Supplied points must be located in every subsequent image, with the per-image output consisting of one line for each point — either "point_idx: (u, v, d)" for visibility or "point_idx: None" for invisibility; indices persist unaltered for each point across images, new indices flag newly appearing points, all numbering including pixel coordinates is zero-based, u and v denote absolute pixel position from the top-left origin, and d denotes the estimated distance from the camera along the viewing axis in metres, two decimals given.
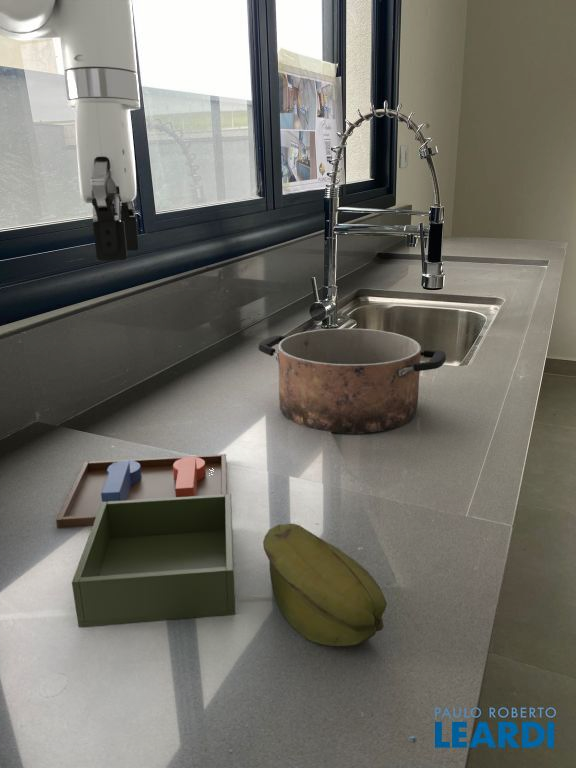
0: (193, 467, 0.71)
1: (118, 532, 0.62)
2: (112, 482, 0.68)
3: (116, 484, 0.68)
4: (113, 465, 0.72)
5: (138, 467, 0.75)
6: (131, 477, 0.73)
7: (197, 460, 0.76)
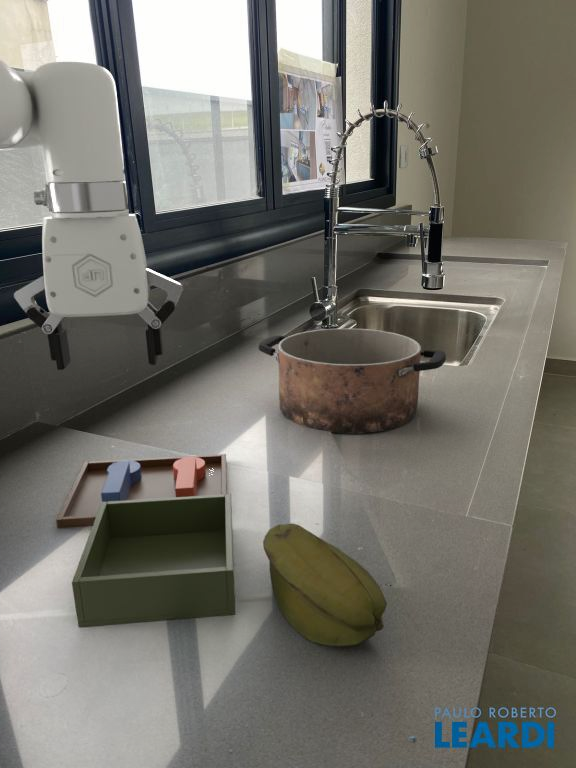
0: (193, 467, 0.71)
1: (118, 532, 0.62)
2: (112, 482, 0.68)
3: (116, 484, 0.68)
4: (113, 465, 0.72)
5: (138, 467, 0.75)
6: (131, 477, 0.73)
7: (197, 460, 0.76)
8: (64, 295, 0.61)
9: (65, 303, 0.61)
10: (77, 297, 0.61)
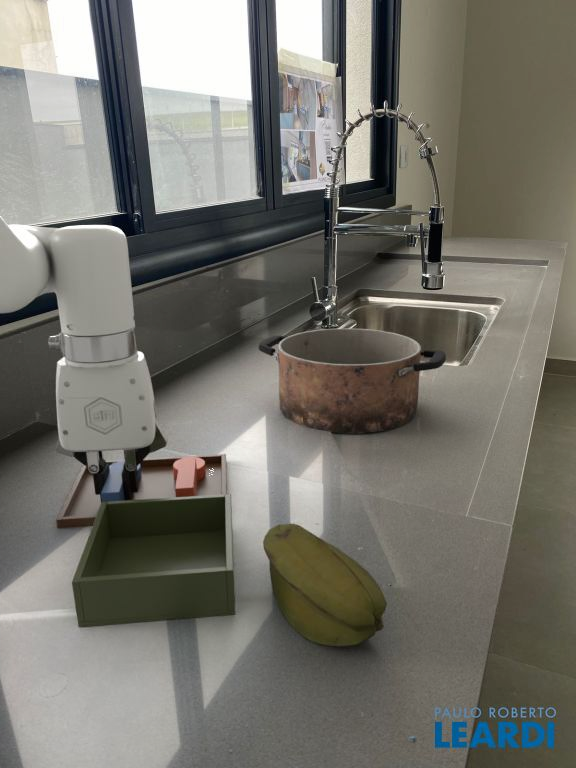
0: (193, 467, 0.71)
1: (118, 532, 0.62)
2: (112, 482, 0.68)
3: (116, 484, 0.68)
4: (113, 465, 0.72)
5: (138, 467, 0.75)
6: None
7: (197, 460, 0.76)
8: (76, 433, 0.64)
9: (77, 440, 0.65)
10: (88, 435, 0.65)
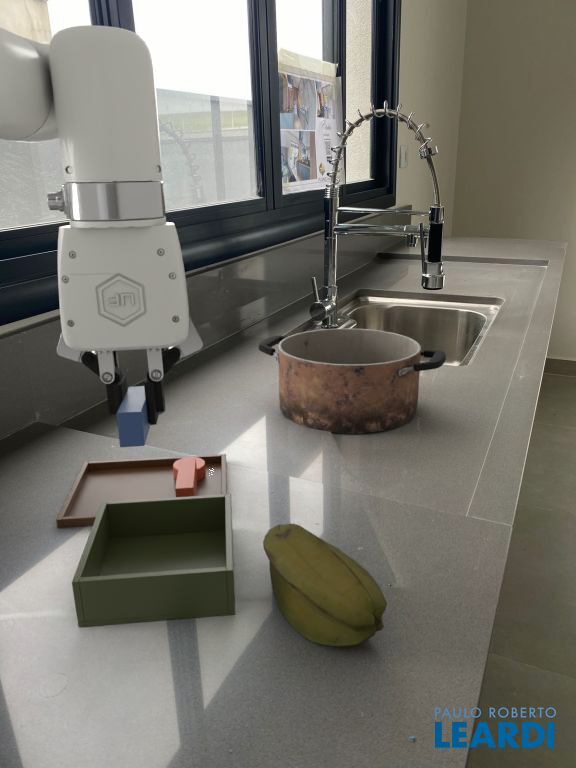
0: (193, 467, 0.71)
1: (118, 532, 0.62)
2: (130, 403, 0.51)
3: (136, 405, 0.50)
4: (130, 388, 0.55)
5: None
6: None
7: (197, 460, 0.76)
8: (85, 324, 0.48)
9: (86, 334, 0.48)
10: (101, 327, 0.48)
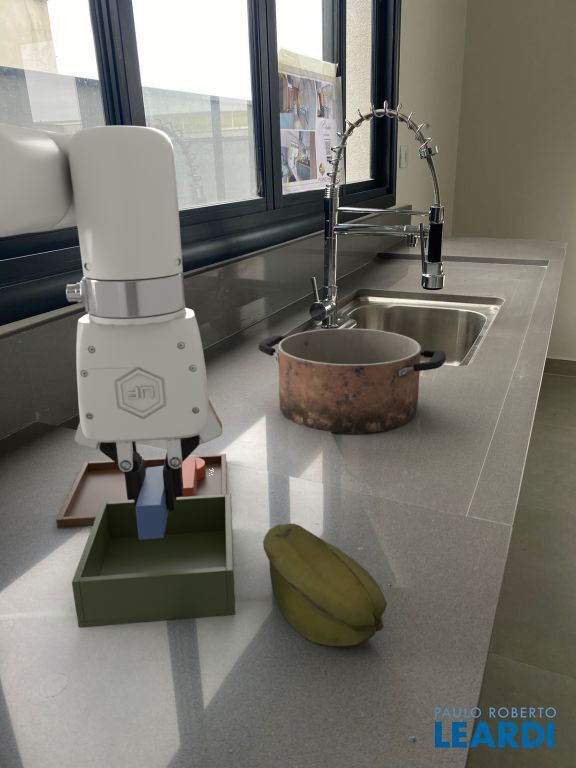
0: (193, 467, 0.71)
1: (118, 532, 0.62)
2: (149, 492, 0.50)
3: (155, 495, 0.50)
4: (148, 470, 0.54)
5: None
6: None
7: (197, 460, 0.76)
8: (103, 417, 0.47)
9: (104, 427, 0.48)
10: (120, 419, 0.48)
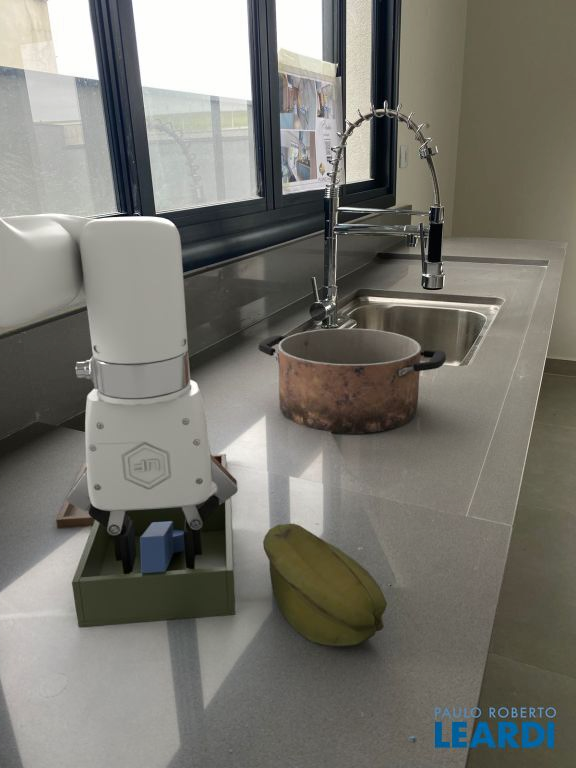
0: None
1: None
2: (153, 531, 0.53)
3: (159, 532, 0.52)
4: (153, 523, 0.57)
5: (183, 533, 0.59)
6: (174, 542, 0.58)
7: None
8: (111, 488, 0.49)
9: (112, 497, 0.50)
10: (127, 490, 0.50)
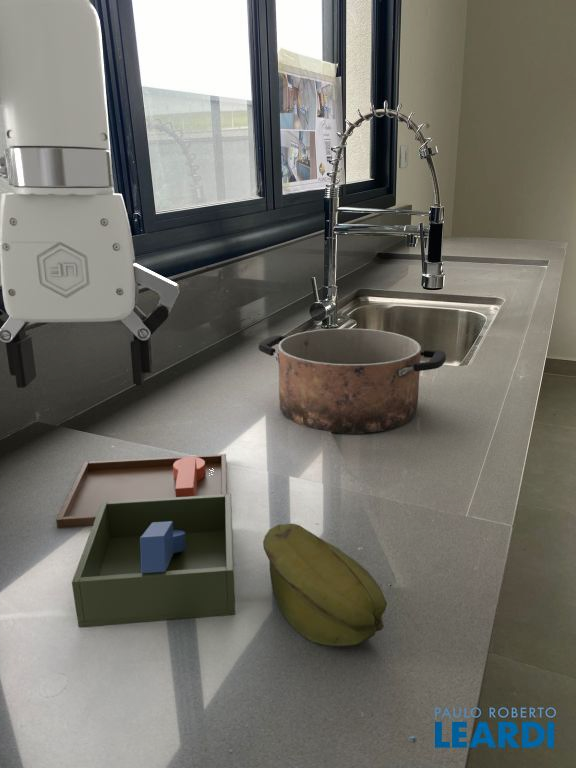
0: (193, 467, 0.71)
1: (118, 532, 0.62)
2: (153, 531, 0.53)
3: (159, 532, 0.52)
4: (153, 523, 0.57)
5: (183, 533, 0.59)
6: (174, 542, 0.58)
7: (197, 460, 0.76)
8: (26, 294, 0.47)
9: (27, 304, 0.48)
10: (43, 297, 0.47)
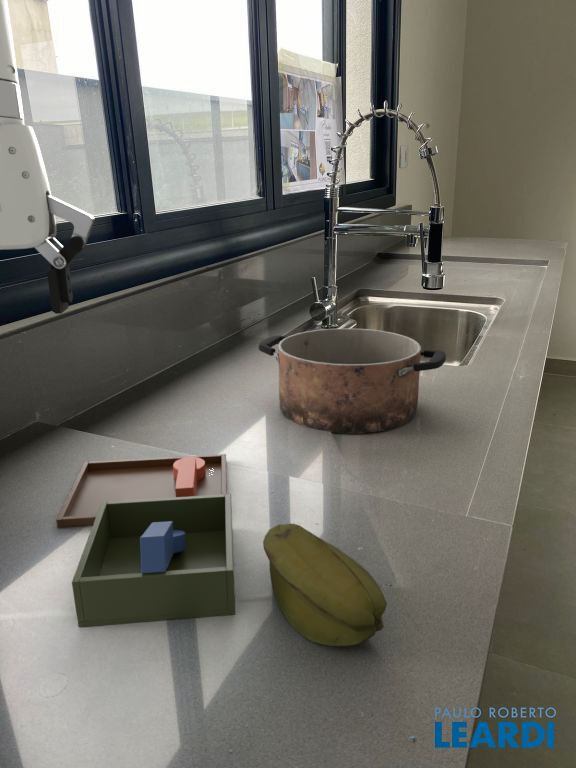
0: (193, 467, 0.71)
1: (118, 532, 0.62)
2: (153, 531, 0.53)
3: (159, 532, 0.52)
4: (153, 523, 0.57)
5: (183, 533, 0.59)
6: (174, 542, 0.58)
7: (197, 460, 0.76)
8: None
9: None
10: None
